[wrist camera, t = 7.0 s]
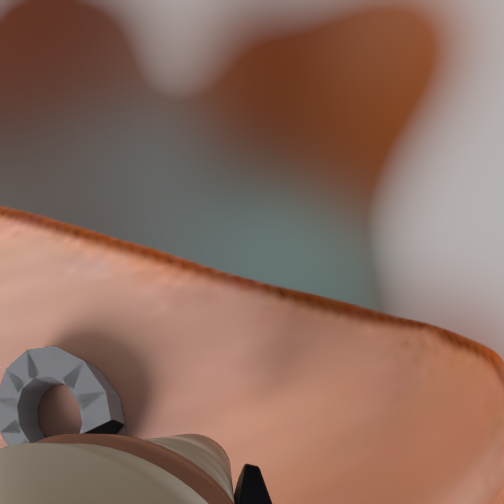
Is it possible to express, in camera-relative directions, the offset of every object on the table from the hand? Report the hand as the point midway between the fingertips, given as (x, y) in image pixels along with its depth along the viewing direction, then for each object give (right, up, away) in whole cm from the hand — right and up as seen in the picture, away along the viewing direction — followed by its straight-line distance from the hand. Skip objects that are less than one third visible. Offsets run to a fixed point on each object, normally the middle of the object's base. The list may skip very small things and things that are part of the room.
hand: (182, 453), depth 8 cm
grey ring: (-12, -7, +11) cm, 18 cm away
